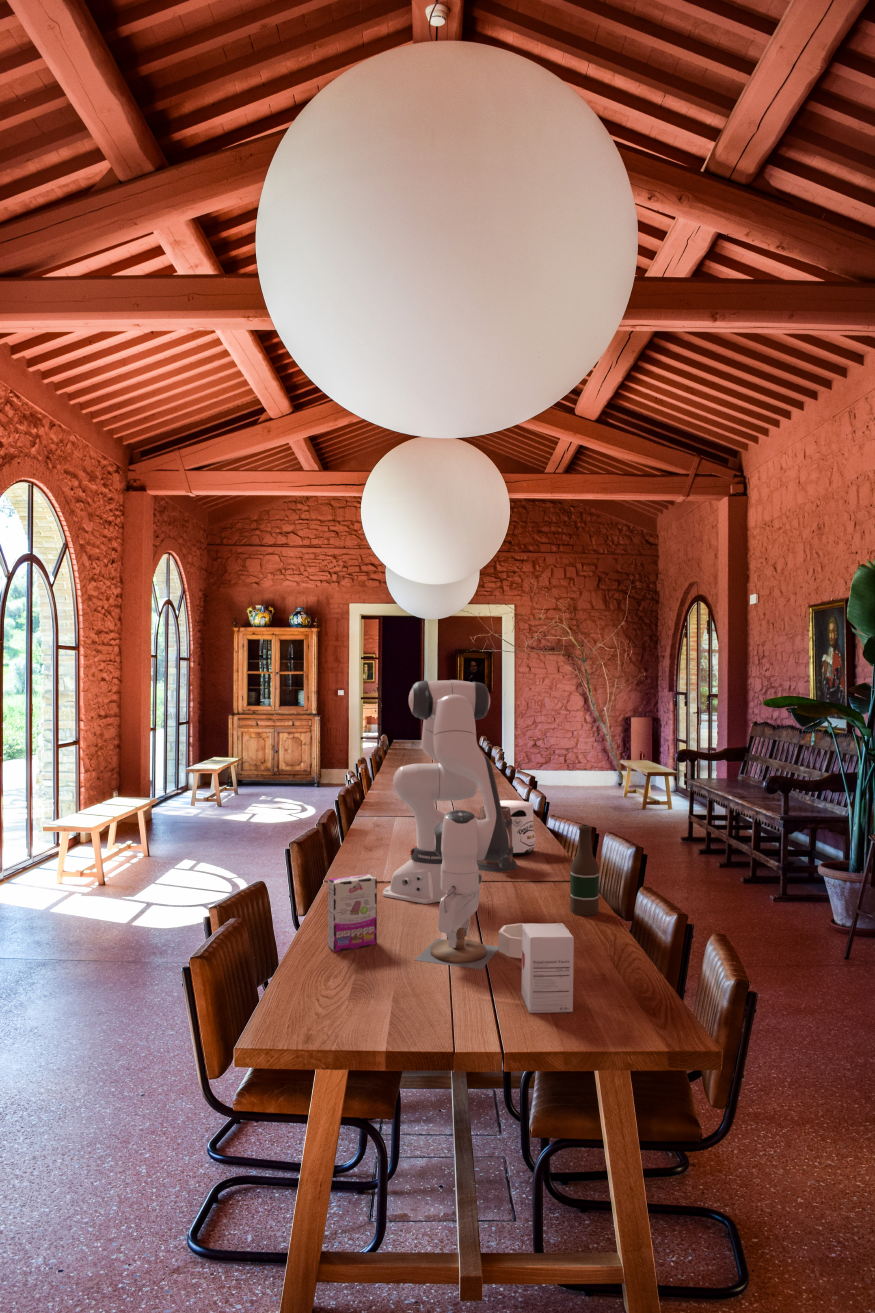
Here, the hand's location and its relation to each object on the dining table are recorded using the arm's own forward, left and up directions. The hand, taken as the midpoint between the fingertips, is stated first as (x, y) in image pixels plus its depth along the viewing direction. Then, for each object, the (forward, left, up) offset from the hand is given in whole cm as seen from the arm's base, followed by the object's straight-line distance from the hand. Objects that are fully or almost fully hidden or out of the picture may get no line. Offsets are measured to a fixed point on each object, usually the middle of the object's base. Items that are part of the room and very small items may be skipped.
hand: (458, 941), depth 193 cm
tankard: (-14, +86, -4) cm, 87 cm away
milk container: (-15, +111, -4) cm, 112 cm away
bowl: (+14, +8, -3) cm, 16 cm away
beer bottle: (+22, +46, -4) cm, 51 cm away
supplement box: (+25, -20, -4) cm, 32 cm away
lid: (0, 0, -3) cm, 3 cm away
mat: (0, 0, -3) cm, 3 cm away
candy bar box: (-26, -3, -4) cm, 26 cm away
